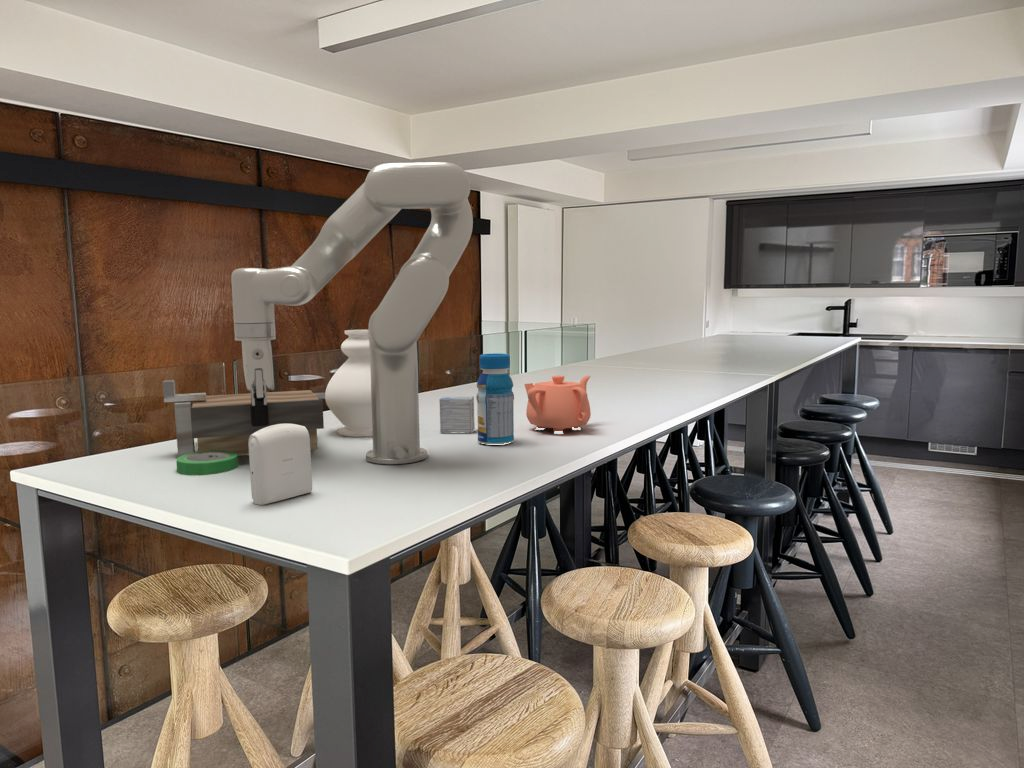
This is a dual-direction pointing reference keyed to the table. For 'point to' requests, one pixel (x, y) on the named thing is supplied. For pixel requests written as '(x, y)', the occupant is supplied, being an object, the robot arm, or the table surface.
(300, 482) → the photo printer
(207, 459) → the tape roll
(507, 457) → the table surface
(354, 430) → the decorative vase
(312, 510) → the table surface
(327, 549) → the table surface
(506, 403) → the beverage bottle
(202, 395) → the brushed metal corner piece
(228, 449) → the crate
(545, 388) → the teapot
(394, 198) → the robot arm
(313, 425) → the lid
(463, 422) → the medicine box
